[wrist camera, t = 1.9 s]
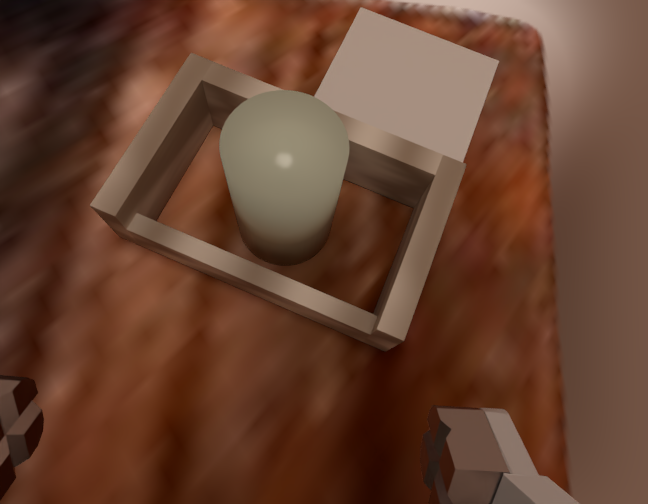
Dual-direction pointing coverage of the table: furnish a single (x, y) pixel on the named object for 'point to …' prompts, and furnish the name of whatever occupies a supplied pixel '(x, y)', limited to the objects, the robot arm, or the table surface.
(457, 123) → the concrete tile
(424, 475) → the robot arm
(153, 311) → the table surface
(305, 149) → the sage green rounded cylinder
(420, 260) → the frame
